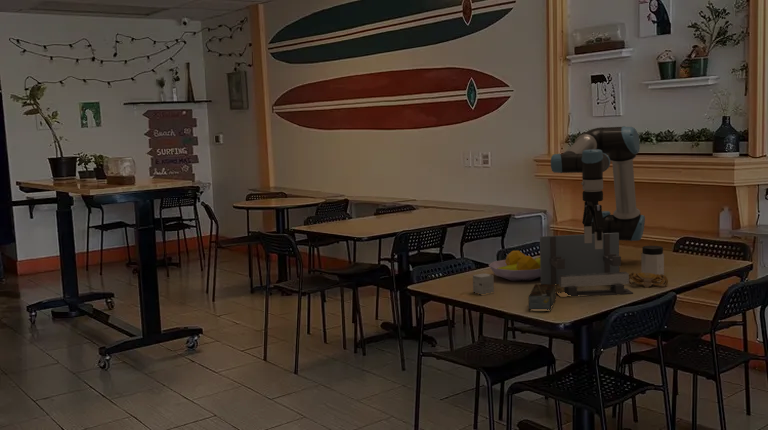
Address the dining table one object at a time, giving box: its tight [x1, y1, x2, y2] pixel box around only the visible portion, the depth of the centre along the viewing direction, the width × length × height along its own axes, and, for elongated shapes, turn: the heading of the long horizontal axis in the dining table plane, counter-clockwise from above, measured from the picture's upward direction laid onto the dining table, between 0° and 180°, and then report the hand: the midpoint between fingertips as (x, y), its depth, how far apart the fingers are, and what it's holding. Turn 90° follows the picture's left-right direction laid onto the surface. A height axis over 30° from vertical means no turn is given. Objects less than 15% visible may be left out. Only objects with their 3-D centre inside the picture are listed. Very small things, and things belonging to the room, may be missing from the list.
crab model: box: [629, 272, 669, 289], centre depth 306 cm, size 16×13×6 cm
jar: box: [640, 245, 665, 276], centre depth 322 cm, size 9×8×12 cm
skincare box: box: [472, 272, 495, 295], centre depth 304 cm, size 6×6×7 cm
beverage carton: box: [528, 283, 557, 310], centre depth 281 cm, size 8×19×7 cm, turn 162°
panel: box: [539, 233, 622, 284], centre depth 307 cm, size 14×32×20 cm, turn 91°
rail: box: [558, 271, 630, 288], centre depth 295 cm, size 4×26×4 cm, turn 91°
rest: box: [557, 284, 634, 296], centre depth 295 cm, size 7×28×4 cm, turn 92°
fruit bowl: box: [488, 249, 541, 282], centre depth 329 cm, size 28×27×11 cm
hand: (593, 246), depth 293 cm, fingers open, 13 cm apart
